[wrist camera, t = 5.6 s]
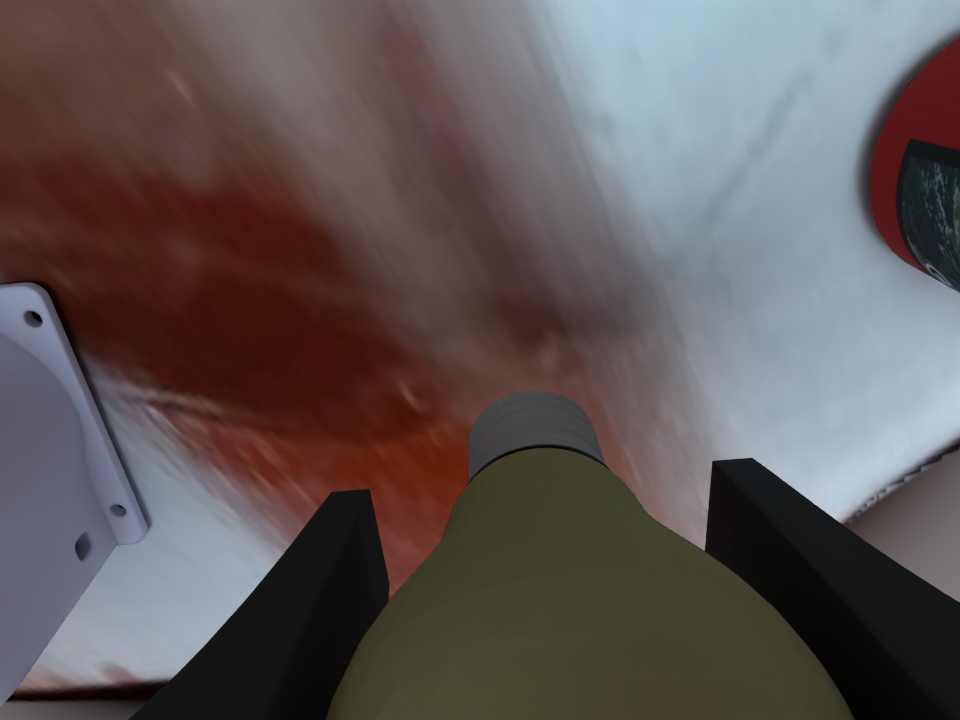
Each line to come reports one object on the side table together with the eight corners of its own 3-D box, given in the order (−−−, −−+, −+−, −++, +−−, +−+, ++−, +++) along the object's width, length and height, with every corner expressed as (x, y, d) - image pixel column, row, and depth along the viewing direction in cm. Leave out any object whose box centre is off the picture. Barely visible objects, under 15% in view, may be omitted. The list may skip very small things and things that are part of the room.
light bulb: (514, 573, 15) (579, 1393, 6) (331, 419, 13) (18, 1286, 4) (722, 433, 13) (1250, 1278, 4) (547, 234, 11) (839, 1007, 2)
